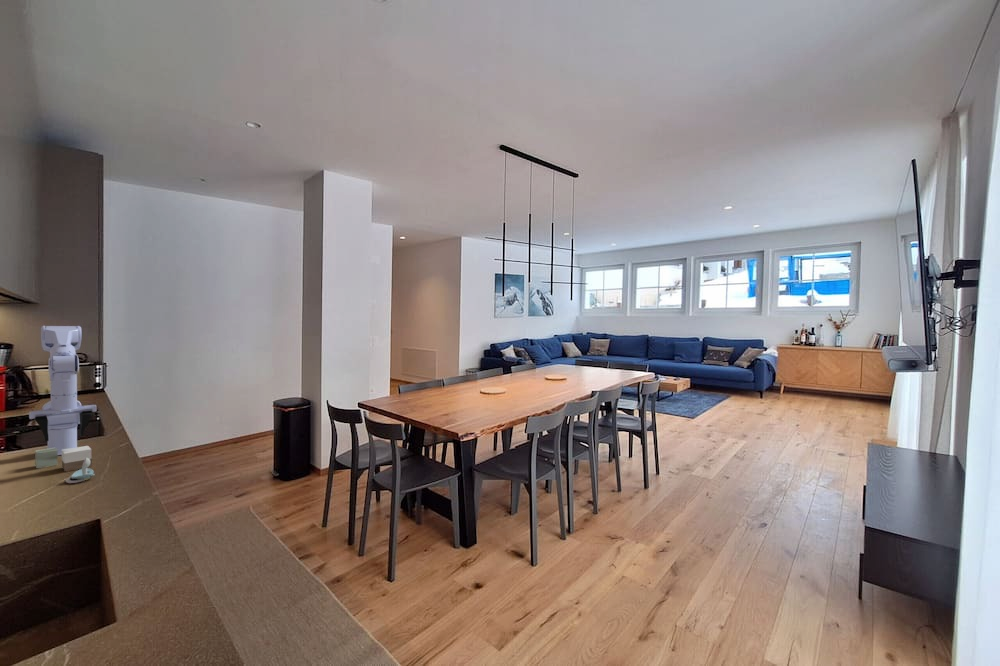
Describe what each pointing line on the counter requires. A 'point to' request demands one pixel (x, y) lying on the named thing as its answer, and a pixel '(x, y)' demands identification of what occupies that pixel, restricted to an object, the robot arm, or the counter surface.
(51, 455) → the green block
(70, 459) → the top slab
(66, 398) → the robot arm
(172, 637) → the counter surface
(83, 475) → the pacifier
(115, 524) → the counter surface
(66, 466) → the base slab
